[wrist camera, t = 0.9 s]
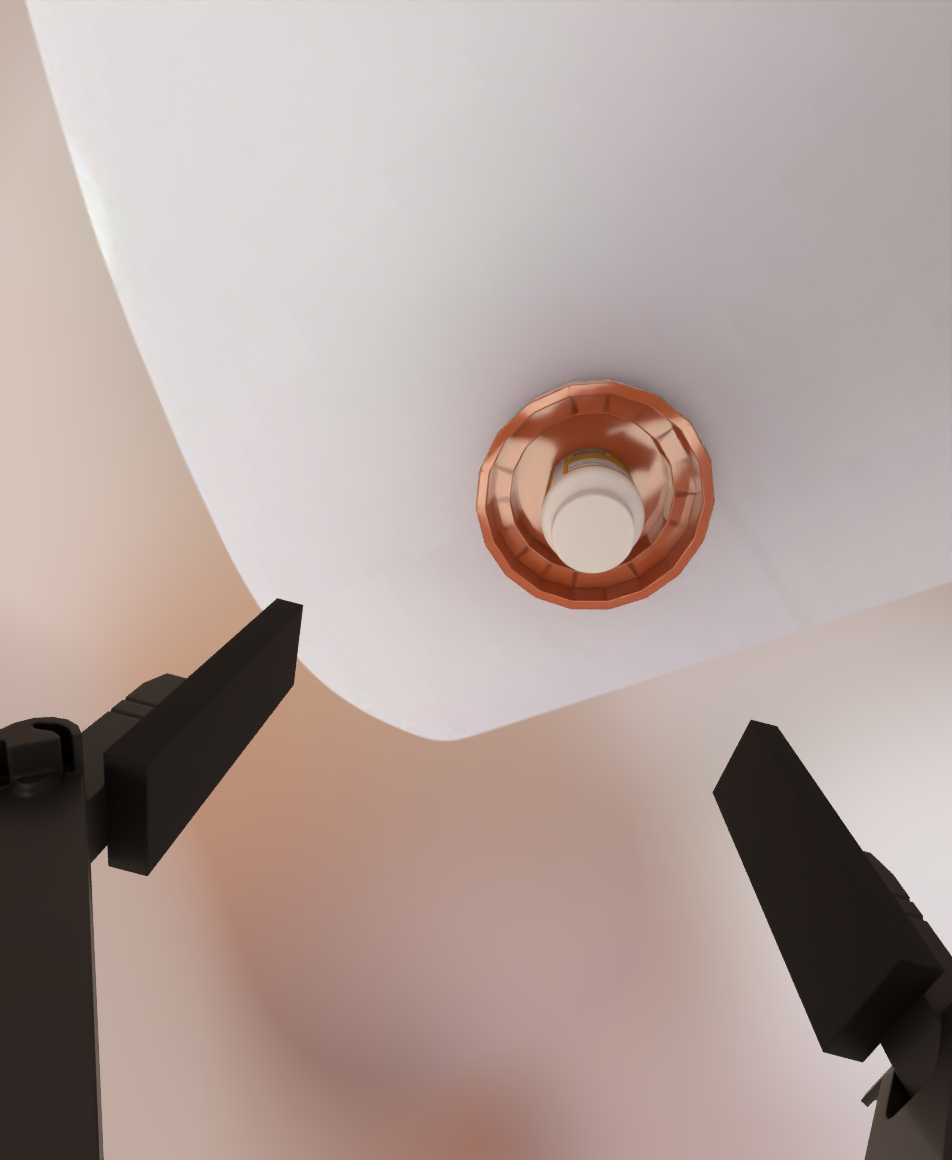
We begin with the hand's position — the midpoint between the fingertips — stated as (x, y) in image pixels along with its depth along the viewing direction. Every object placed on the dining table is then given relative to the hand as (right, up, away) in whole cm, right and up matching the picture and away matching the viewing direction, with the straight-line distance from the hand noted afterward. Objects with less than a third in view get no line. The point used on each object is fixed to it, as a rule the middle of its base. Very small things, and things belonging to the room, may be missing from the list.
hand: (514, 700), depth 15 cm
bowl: (+6, +10, +19) cm, 22 cm away
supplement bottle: (+6, +9, +19) cm, 22 cm away
